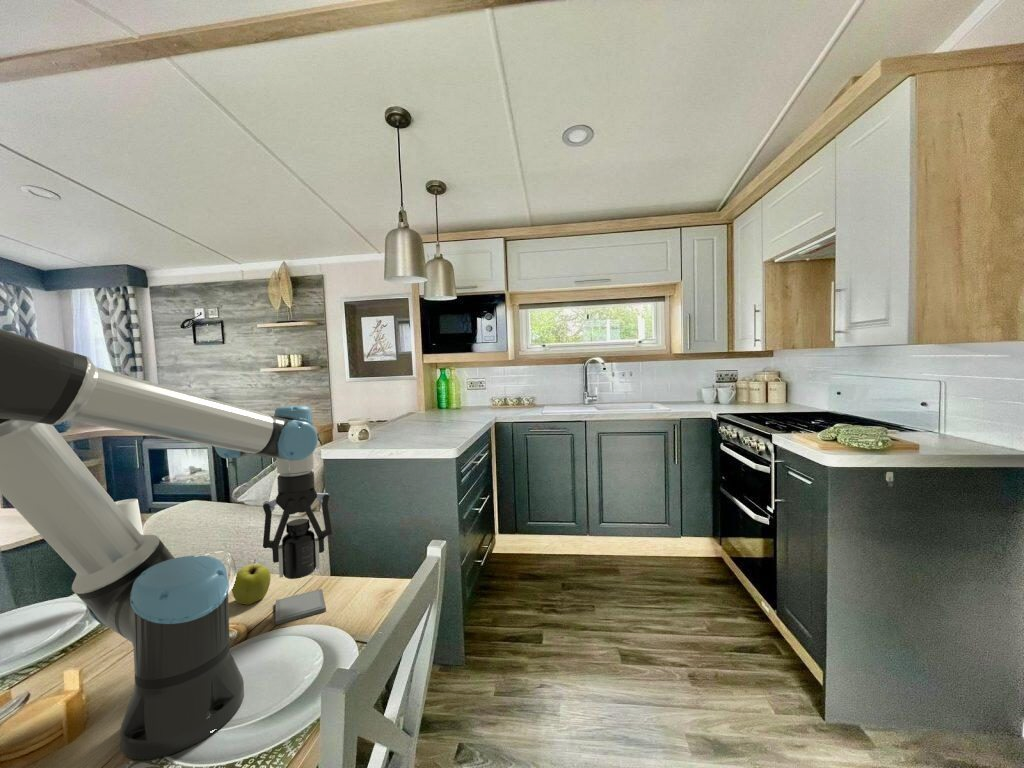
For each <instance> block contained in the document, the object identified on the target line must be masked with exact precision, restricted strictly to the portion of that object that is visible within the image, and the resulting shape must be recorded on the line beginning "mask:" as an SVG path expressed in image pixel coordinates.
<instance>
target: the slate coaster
mask: <svg viewBox="0 0 1024 768" xmlns="http://www.w3.org/2000/svg"><path fill="white" fill-rule="evenodd" d="M326 611H327V606H326V601H325V596H324V592H323V589H322V588H320V589H315V590H311V591H307V592H304V593H303V592H302V593H300V594H295V595H292V596H287V597H283V598H279V599H276V600H275V620H274V621H275V626H278V625H280V624H284V623H287V622H292V621H295V620H299V619H301V618H305V617H310V616H312V615H313V616H314V615H316V614H317V615H318V614H320V613H324V612H326Z"/></svg>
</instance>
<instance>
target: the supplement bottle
mask: <svg viewBox="0 0 1024 768" xmlns="http://www.w3.org/2000/svg"><path fill="white" fill-rule="evenodd" d="M310 524H311V523H310V520H309V518H296V519H292V520H290V521H287V524H286V526H285V532H286V534H285V535H284V536H282V538H281V544H282V556H283V578H284V577H285V579H289V580H296V579H302V578H305V577H308V576H309V575H311V574H312V573H314V571H316V557H315V538H316V537H315V535H316V533H314V532H315V531H312V530H311V529H310V528H311V525H310Z"/></svg>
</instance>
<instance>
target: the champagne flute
mask: <svg viewBox="0 0 1024 768" xmlns="http://www.w3.org/2000/svg"><path fill="white" fill-rule="evenodd" d="M138 499H139V498H128V499H122V500H117V501H114V502H115V503H116V504H117V506H118V507H119V508H120V509H121V511H122V512H123V513H124V514H125V516H126V517H127V518H128V519H129V521H130V522H131V523H132V524H133V526H134V527H135V528H136V529H137V530H138V532H139V533H140V534H141V535H145V534H144V530H143V523H142V517H141V511H140V505H139V500H138Z"/></svg>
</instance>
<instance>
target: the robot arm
mask: <svg viewBox="0 0 1024 768" xmlns="http://www.w3.org/2000/svg"><path fill="white" fill-rule="evenodd" d="M67 421H73V422H77V423H85V424H89V425H94V426H95V425H96V426H99V427H106V428H111V429H116V430H121V431H128V432H133V433H138V434H144V435H149V436H153V437H154V436H155V437H160V438H161V437H162V438H166V439H172V440H175V441H176V440H178V441H182V442H188V443H193V444H199V445H203V446H205V445H206V446H210V447H214V450H215V451H216V453H217V455H218V456H220V457H221V458H223V459H232V458H233V459H234V458H237V459H239V458H240V457H241V458H242V457H248V456H252V457H260V458H273V459H276V471H277V474H279V475H278V476H277V477H276V478H277V496H276V497H275V499H272V500H270V501H268V500H267V501H264V502H263V504H262V509H263V511H264V514H265V517H264V528H263V539H262V547H263V548H264V549H271V550H272V562H273V564H275V563H276V564H277V563H278V572H279V573H278V574H279V579H281V578H284V575H283V556H282V543H281V542H282V539H283V535H284V532H285V530H286V524H287V523H288V522H289V521H288V520H289V518H290V515H295V514H297V513H299V514H301V513H305V514H306V515H307V519H309V523H310V524H311V527H312V528H313V530H314V532H315V535H316V536H317V537H315V557H316V568H315V570H319V569H321V566H320V563H321V562H320V554H321V553H324V551H325V538H327V536H331V535H332V534H333V530H332V529H333V528H332V524H331V517H330V511H329V506H328V503H329V499H330V496H329V493H328V492H322V493H321V492H317V490H316V489H315V473H314V471H313V469H314V468H315V465H314V451H315V450H316V448H317V445H318V440H319V438H318V432H317V429H316V428H315V426H313V425H314V424H313V416H312V409H311V408H310V407H309V406H307V405H289V406H279V407H276V408H275V409H274V414H273V415H270V414H268V413H265V412H260V411H258V410H254V409H249V408H247V407H244V406H243V407H242V406H239V405H236V404H231V403H228V402H224V401H222V400H217V399H213V398H210V397H207V396H202V395H199V394H195V393H191V392H187V391H185V390H181V389H177V388H173V387H170V386H167V385H163V384H159V383H155V382H151V381H148V380H144V379H140V378H136V377H133V376H130V375H126V374H122V373H118V372H115V371H111V370H108V369H104V368H101V367H97V366H96V365H95V364H94V363H93V362H92V360H91V359H90V357H88V356H85V355H82V354H79V353H75V352H72V351H69V350H67V349H66V350H65V349H62V348H59V347H57V346H54V345H52V344H51V345H50V344H49V343H44V342H42V341H38V340H36V339H33V338H30V337H28V336H27V337H26V336H24V335H21V334H17V333H14V332H12V331H9V330H5V329H3V328H0V494H1V495H2V496H3V497H4V498H5V499H6V500H7V501H8V502H9V503H10V504H11V505H12V506H13V508H14V509H16V511H17V512H18V513H19V514H20V515H21V516H22V517H23V518H24V519H25V521H26V522H27V523H28V524H29V525H31V527H32V528H33V529H34V530H35V531H36V532H37V533H38V534H39V535H40V536H41V538H42V539H44V541H46V543H47V544H48V545H49V546H50V547H51V548H52V549H53V550H54V551H55V552H56V553H57V555H58V556H60V557H61V558H62V560H63V561H64V562H65V563H66V564H67V565H68V566H69V568H71V569H72V570H73V572H75V574H76V575H75V578H74V580H73V581H72V585H71V591H72V592H73V593H74V594H76V595H77V597H78V598H79V599H80V600H81V601H82V602H83V603H84V604H85V606H86V608H87V610H88V611H89V615H90V616H91V617H92V618H93V619H94V620H95V621H96V622H97V623H99V624H101V625H102V626H105V627H107V628H109V629H111V630H112V631H114V632H116V633H117V634H118V635H120V636H121V637H122V638H124V639H125V640H128V641H129V642H131V644H132V647H133V664H134V688H133V690H132V694H131V697H130V699H129V701H128V702H129V703H128V706H127V708H126V712H125V714H124V717H123V719H122V723H121V725H120V733H119V739H120V740H119V742H120V750H121V753H123V755H124V756H126V757H128V758H130V759H132V760H133V759H134V760H153V759H158V758H162V757H166V756H170V755H172V754H175V753H178V752H180V751H181V752H182V751H183V750H186V749H188V748H189V747H193V746H194V745H196V744H198V743H199V742H202V741H203V740H205V739H206V738H209V736H211V735H212V734H211V733H210V731H212V730H214V729H218V728H219V729H221V728H222V727H223V726H224V725H225V724H227V723H228V722H229V721H230V720H231V718H233V717H234V715H235V714H236V713H237V712H238V710H239V708H240V707H242V703H243V701H244V698H245V687H244V686H245V685H244V684H245V683H244V678H243V676H242V673H241V671H240V669H239V667H238V665H237V663H236V661H235V659H234V657H233V655H232V653H231V648H230V616H229V613H230V612H229V588H230V585H229V578H228V575H227V568H226V566H225V564H224V563H223V562H222V561H221V560H220V559H218V558H216V557H214V556H208V555H198V556H195V555H187V556H186V555H185V556H179V557H174V555H173V553H171V552H170V550H169V549H168V548H167V546H166V545H165V544H164V543H163V542H162V540H161V539H160V538H159V537H158V536H157V535H155V534H144V535H141V534H140V533H139V532H138V530H137V529H136V528H135V527H134V526H133V524H132V523H131V522H130V521H129V519H128V518H127V517H126V516H125V514H124V513H123V512H122V511H121V509H120V508H119V507H118V506H117V504H116V503H115V502H116V501H114V499H113V498H112V497H111V496H110V494H109V493H108V492H107V491H106V490H105V488H104V487H103V486H102V484H101V483H100V482H99V481H98V480H97V478H96V477H95V476H94V475H93V474H92V472H91V471H90V470H89V468H88V467H87V466H86V465H85V464H84V462H83V461H82V460H81V459H80V457H79V456H78V454H77V453H76V452H75V451H74V450H73V449H72V447H71V446H70V444H68V443H67V441H66V439H65V438H64V437H63V436H62V435H61V433H59V431H58V429H56V427H55V426H56V425H59V424H61V423H63V422H67ZM316 499H318V502H319V503H320V505H321V510H322V516H323V524H324V530H322V529H321V527H320V524H319V522H318V520H317V518H316V516H315V513H314V511H313V510H312V507H311V506H312V505H313V504H314V502H315V501H316ZM277 505H278V506H279V508H281V509H282V510H283V511H282V514H281V518H280V520H279V524H278V527H277V529H276V532H275V535H274V537H273V540H271V527H272V515H273V513H272V512H273V511H274V510H275V509H276V506H277ZM280 543H281V544H280ZM219 729H218V730H219Z"/></svg>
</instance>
